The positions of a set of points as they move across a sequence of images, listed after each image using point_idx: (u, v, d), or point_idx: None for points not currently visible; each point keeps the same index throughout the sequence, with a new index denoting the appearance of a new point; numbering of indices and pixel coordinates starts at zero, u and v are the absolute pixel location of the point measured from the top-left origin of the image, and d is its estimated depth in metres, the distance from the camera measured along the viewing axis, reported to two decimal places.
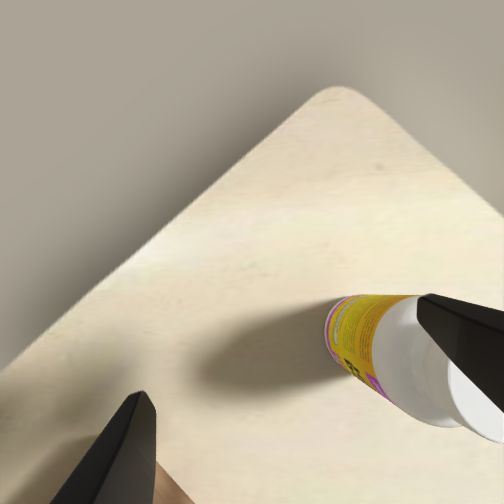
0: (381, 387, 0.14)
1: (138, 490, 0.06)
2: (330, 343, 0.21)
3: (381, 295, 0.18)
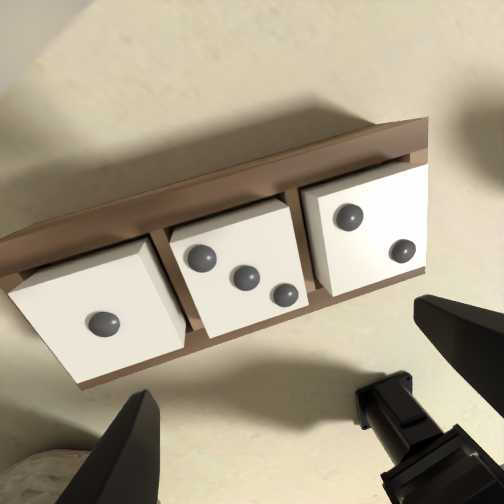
0: None
1: (143, 488, 0.06)
2: None
3: None
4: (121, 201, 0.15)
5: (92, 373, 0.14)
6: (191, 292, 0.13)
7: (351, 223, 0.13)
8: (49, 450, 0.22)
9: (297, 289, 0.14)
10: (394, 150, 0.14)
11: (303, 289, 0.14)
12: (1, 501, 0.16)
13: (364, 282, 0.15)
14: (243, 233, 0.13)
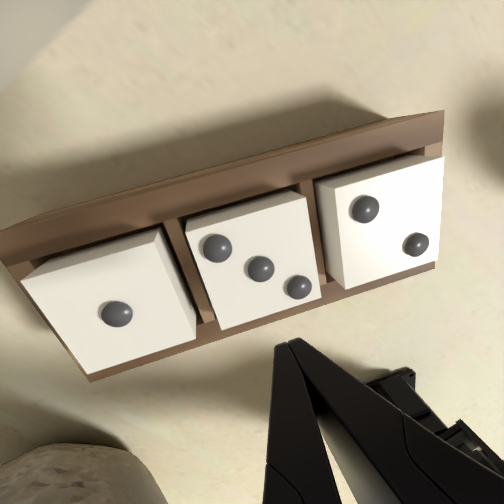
0: None
1: None
2: None
3: None
4: (133, 191, 0.15)
5: (103, 364, 0.14)
6: (205, 283, 0.13)
7: (366, 215, 0.13)
8: (53, 444, 0.22)
9: (310, 281, 0.14)
10: (409, 143, 0.14)
11: (316, 281, 0.14)
12: (7, 493, 0.15)
13: (376, 275, 0.15)
14: (259, 223, 0.12)
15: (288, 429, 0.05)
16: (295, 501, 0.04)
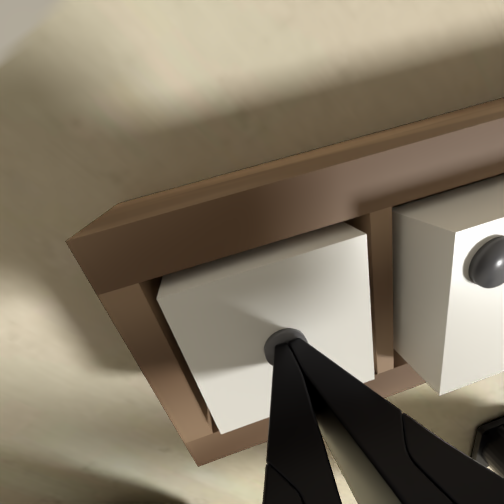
0: None
1: None
2: None
3: None
4: (280, 164, 0.09)
5: (246, 419, 0.09)
6: (448, 322, 0.07)
7: None
8: None
9: None
10: None
11: None
12: None
13: None
14: None
15: (288, 429, 0.05)
16: (295, 501, 0.04)
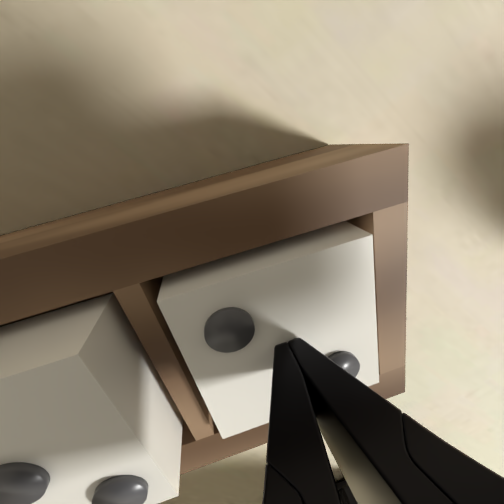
0: None
1: None
2: None
3: None
4: None
5: None
6: None
7: (231, 339, 0.07)
8: None
9: (146, 480, 0.07)
10: (341, 208, 0.07)
11: (160, 477, 0.07)
12: None
13: None
14: None
15: (288, 429, 0.05)
16: (295, 501, 0.04)
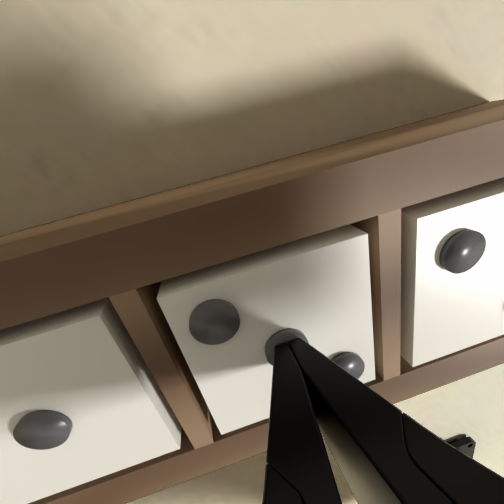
0: None
1: None
2: None
3: None
4: (65, 225, 0.08)
5: (30, 496, 0.09)
6: (194, 372, 0.08)
7: (464, 260, 0.08)
8: None
9: (362, 359, 0.09)
10: None
11: (370, 358, 0.09)
12: None
13: (460, 345, 0.10)
14: (287, 277, 0.07)
15: (288, 429, 0.05)
16: (295, 501, 0.04)
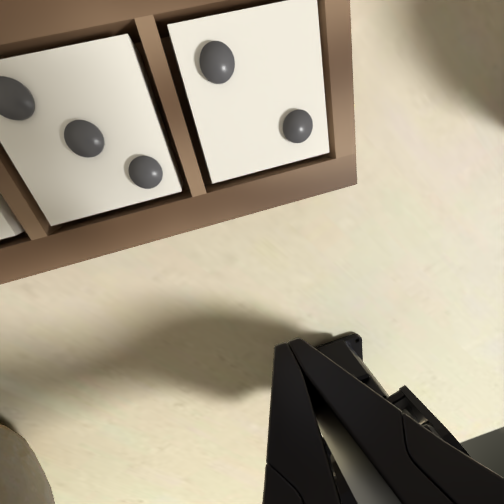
0: None
1: None
2: None
3: None
4: None
5: None
6: (9, 152, 0.10)
7: (218, 70, 0.10)
8: None
9: (161, 166, 0.12)
10: None
11: (170, 167, 0.12)
12: None
13: (252, 167, 0.12)
14: (67, 67, 0.10)
15: (288, 429, 0.05)
16: (295, 501, 0.04)
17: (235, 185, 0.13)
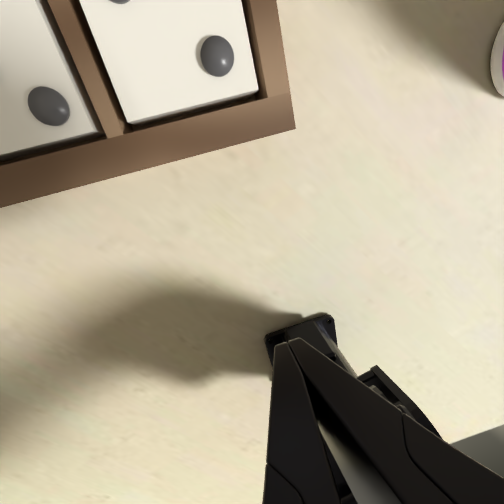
0: None
1: None
2: None
3: None
4: None
5: None
6: None
7: None
8: None
9: (67, 101, 0.11)
10: None
11: (77, 102, 0.11)
12: None
13: (170, 104, 0.11)
14: None
15: (288, 429, 0.05)
16: (295, 501, 0.04)
17: (156, 126, 0.12)
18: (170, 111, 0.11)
